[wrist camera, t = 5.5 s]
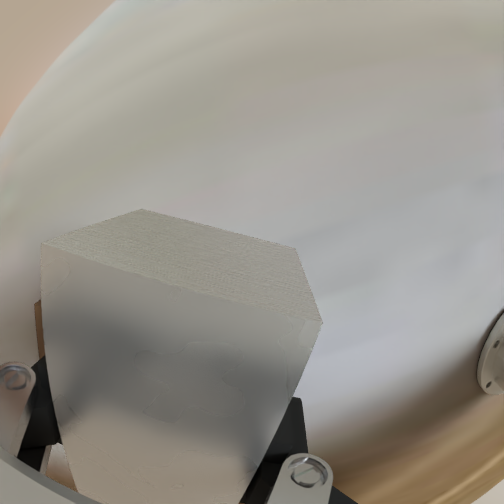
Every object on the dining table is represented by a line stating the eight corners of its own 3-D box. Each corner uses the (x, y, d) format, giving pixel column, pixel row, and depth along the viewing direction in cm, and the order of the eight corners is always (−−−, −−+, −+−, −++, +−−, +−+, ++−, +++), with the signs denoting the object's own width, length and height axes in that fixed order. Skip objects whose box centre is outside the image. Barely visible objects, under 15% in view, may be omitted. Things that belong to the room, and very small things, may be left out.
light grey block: (295, 248, 10) (322, 323, 5) (226, 454, 12) (213, 544, 7) (141, 208, 9) (41, 242, 5) (123, 424, 12) (82, 503, 7)
